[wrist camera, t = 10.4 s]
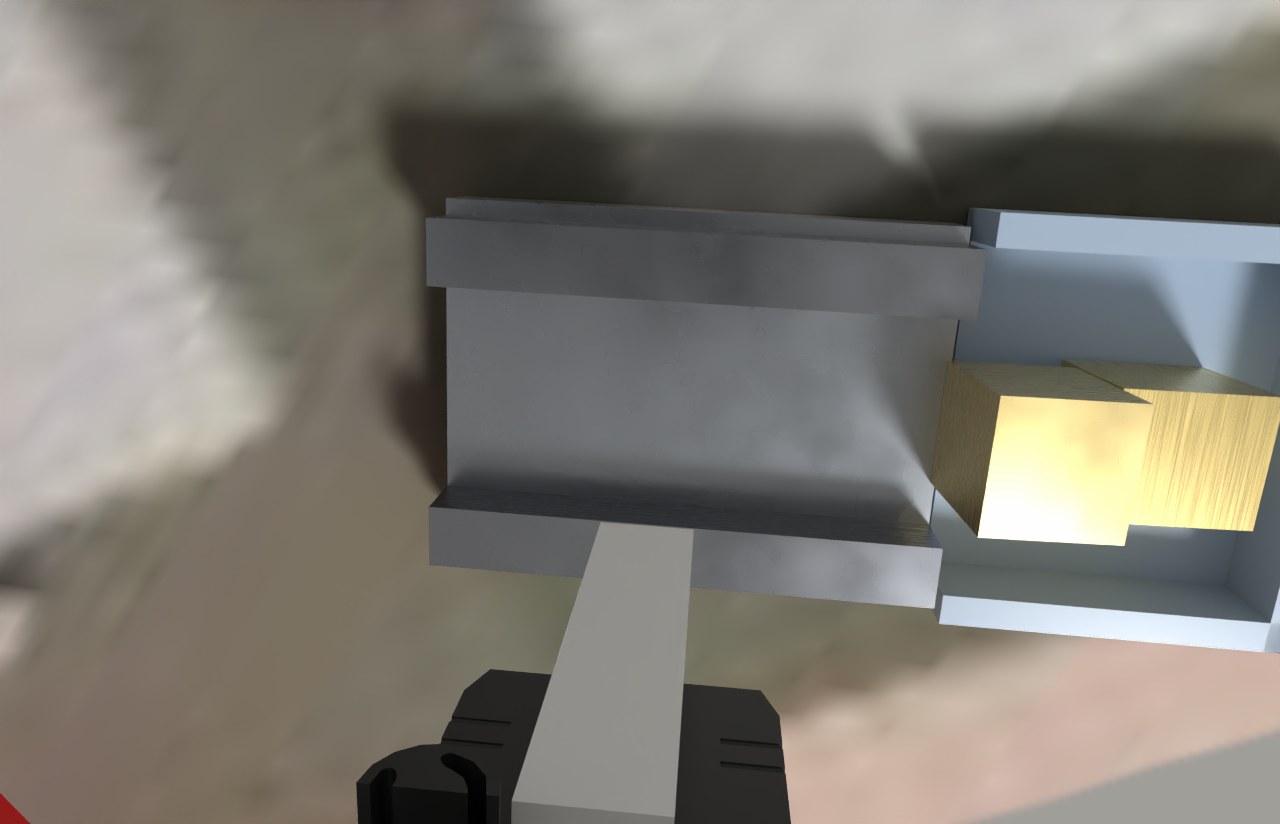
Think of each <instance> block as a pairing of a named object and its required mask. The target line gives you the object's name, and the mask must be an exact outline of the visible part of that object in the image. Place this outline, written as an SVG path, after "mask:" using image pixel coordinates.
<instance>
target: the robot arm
mask: <svg viewBox="0 0 1280 824" xmlns="http://www.w3.org/2000/svg"><path fill="white" fill-rule="evenodd" d="M693 531H694V529H681V528H668V527H656V526H643V525H630V524H617V523H604V522H601V523H600V526H599V529H598V532H597V535H596V538H595V541H594V545H593V548H592V551H591V554H590V557H589V560H588V563H587V566H586V570H585V573H584V576H583V579H582V582H581V585H580V588H579V591H578V595H577V598H576V601H575V604H574V607H573V610H572V613H571V617H570V620H569V623H568V626H567V629H566V632H565V635H564V638H563V642H562V645H561V648H560V651H559V654H558V657H557V660H556V664H555V667H554V670H553V673H552V675H549V674H538V673H527V672H515V671H504V670H493V669H490V670H489V671H488V672H486V673H485V674H484V675H483V676H481V677H480V678H479V679H478V680H476V681H475V682H474V683H473V684H471V685H470V686H469V687H468V688H466V689H465V690H464V692H463V694H462V696H461V698H460V700H459V702H458V705H457V707H456V709H455V711H454V713H453V715H452V720H451V722H450V721H449V724H448V726H447V728H446V730H445V732H444V734H443V736H442V741H441V744H432V745H419V746H415V747H411V748H408V749H404V750H400V751H397V752H394V753H392V754H390V755H389V756H387V757H385V758H383V759H382V760H380V761H378V762H377V763H375V764H373V765H372V766H371V767H370V768H369V769H368V770H367V771H366V772H365V773H364V775H363V776H362V777H361V778H360V779H359V780H358V781H357V782H356V785H357V807H358V824H791V820H790V811H789V801H788V792H787V783H786V774H785V764H784V755H783V749H782V737H781V727H780V718H779V715H778V714H777V712H776V711H775V710H774V708H773V707H772V705H771V704H770V703H769V701H768V700H767V699H766V697H765V696H764V695H763V693H762V692H761V691H760V690H749V689H738V688H726V687H715V686H704V685H693V684H683V683H684V668H685V653H686V638H687V622H688V607H689V592H690V577H691V562H692V547H693Z"/></svg>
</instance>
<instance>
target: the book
mask: <svg viewBox="0 0 1280 824" xmlns="http://www.w3.org/2000/svg"><path fill="white" fill-rule="evenodd" d="M0 824H30V823H29V822H28V821H27V820H26V819H25V818H24V817H23V816H22V815H21V814H20V813H19V812H18V811H17V810H16V809H15V808H14V807H13V806H12V805H11V804H10V803H9V802H8V800H7V799H6V798H5V797H4V796H3V795H2V794H1V793H0Z"/></svg>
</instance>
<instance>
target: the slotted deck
mask: <svg viewBox="0 0 1280 824" xmlns="http://www.w3.org/2000/svg"><path fill="white" fill-rule="evenodd" d="M970 233H971V227H969V226H965V225H960V224H956V223H952V222H934V221H916V220H898V219H879V218H861V217H843V216H825V215H807V214H789V213H770V212H752V211H734V210H716V209H698V208H679V207H661V206H643V205H625V204H607V203H588V202H570V201H552V200H534V199H516V198H498V197H479V196H461V197H451V198H446V214H445V215H439V216H433V217H426V286H431V287H446V300H447V477H448V486H447V487H446V488H445V489H444V490H443V492H442V493H441V494H440V495H439V496H438V497H437V498H436V499H435V501H434V502H433V503H432V504H431V505H430V506H429V556H430V565H437V566H449V567H460V568H472V569H483V570H495V571H506V572H518V573H529V574H541V575H553V576H564V577H576V578H583V576H584V573H585V570H586V566H587V563H588V560H589V557H590V554H591V551H592V548H593V545H594V541H595V538H596V535H597V532H598V529H599V526H600V523H601V522H604V523H617V524H630V525H643V526H656V527H668V528H681V529H694V531H693V547H692V562H691V577H690V587H691V588H703V589H714V590H726V591H737V592H749V593H761V594H772V595H784V596H795V597H807V598H818V599H830V600H841V601H853V602H864V603H876V604H888V605H899V606H911V607H922V608H934V607H935V600H936V594H937V587H938V580H939V573H940V567H941V560H942V553H943V548H942V546H941V544H940V543H939V541H938V539H937V537H936V536H935V534H934V532H933V530H932V529H931V527H930V525H929V521H930V514H931V507H932V500H933V493H934V486H933V485H932V484H931V483H930V480H931V473H932V467H933V460H934V453H935V446H936V439H937V432H938V425H939V418H940V411H941V405H942V398H943V391H944V384H945V377H946V370H947V363H948V360H950V361H952V359H953V352H954V345H955V338H956V331H957V324H958V320H972V321H977V316H978V310H979V303H980V296H981V289H982V283H983V276H984V269H985V262H986V255H987V249H984V248H980V247H977V246H974V245H970V244H969V240H970Z"/></svg>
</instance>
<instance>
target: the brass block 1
mask: <svg viewBox="0 0 1280 824" xmlns="http://www.w3.org/2000/svg"><path fill="white" fill-rule="evenodd" d="M1153 406H1154V404H1152V403H1150V402H1148V401H1146V400H1144V399H1142V398H1140V397H1137V396H1135V395H1133V394H1131V393H1129V392H1127V391H1125V390H1123V389H1121V388H1119V387H1117V386H1114V385H1112V384H1110V383H1108V382H1106V381H1104V380H1102V379H1100V378H1098V377H1096V376H1094V375H1091V374H1089V373H1087V372H1085V371H1083V370H1081V369H1079V368H1074V367H1056V366H1039V365H1021V364H1003V363H986V362H968V361H950V360H948V363H947V370H946V377H945V384H944V391H943V398H942V405H941V411H940V418H939V425H938V432H937V439H936V446H935V453H934V460H933V467H932V473H931V480H930V483H931V484H932V485H933V486H934V487H935V488H936V490H937V491H938V492H939V493H940V494H941V495H942V496H943V498H944V499H945V500H946V501H947V502H948V503H949V505H950V506H951V507H952V508H953V509H954V510H955V512H956V513H957V514H958V515H959V516H960V517H961V518H962V520H963V521H964V522H965V523H966V524H967V525H968V527H969V528H970V529H971V530H972V531H973V532H974V533H975V535H976V536H977V537H979V538H997V539H1014V540H1032V541H1049V542H1067V543H1084V544H1102V545H1119V546H1124V545H1125V540H1126V535H1127V531H1128V526H1129V521H1130V516H1131V511H1132V507H1133V502H1134V497H1135V492H1136V487H1137V483H1138V478H1139V473H1140V468H1141V463H1142V459H1143V454H1144V449H1145V444H1146V439H1147V435H1148V430H1149V425H1150V420H1151V415H1152V410H1153Z"/></svg>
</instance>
